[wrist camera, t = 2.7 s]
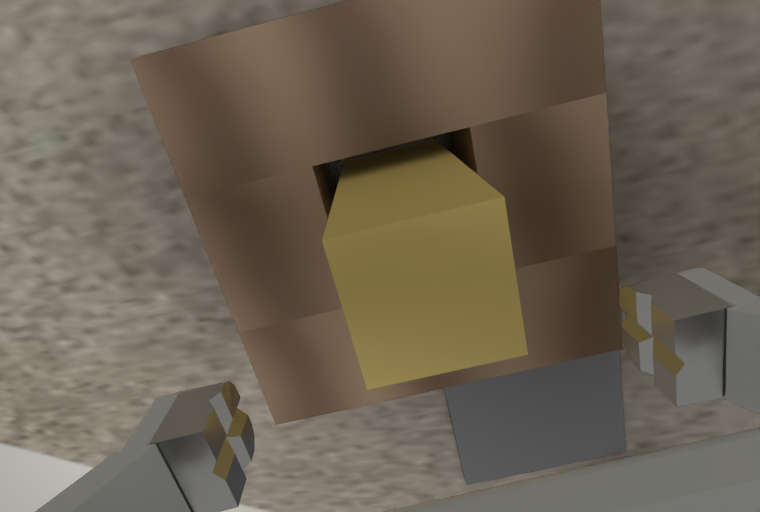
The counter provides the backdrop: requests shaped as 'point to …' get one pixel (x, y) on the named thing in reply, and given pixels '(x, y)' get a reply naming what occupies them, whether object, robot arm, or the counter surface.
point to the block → (422, 265)
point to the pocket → (382, 130)
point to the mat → (539, 417)
